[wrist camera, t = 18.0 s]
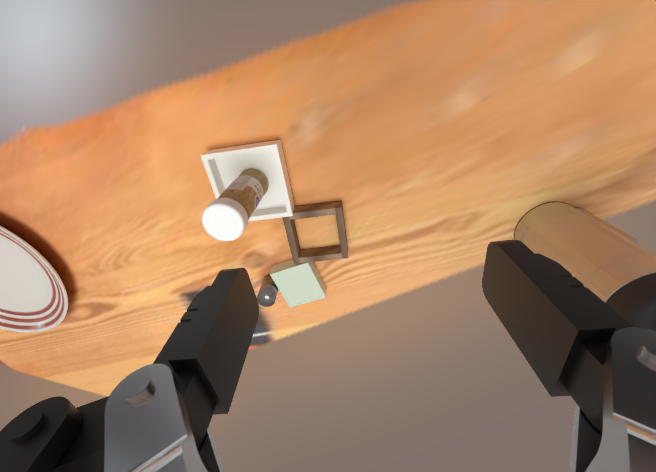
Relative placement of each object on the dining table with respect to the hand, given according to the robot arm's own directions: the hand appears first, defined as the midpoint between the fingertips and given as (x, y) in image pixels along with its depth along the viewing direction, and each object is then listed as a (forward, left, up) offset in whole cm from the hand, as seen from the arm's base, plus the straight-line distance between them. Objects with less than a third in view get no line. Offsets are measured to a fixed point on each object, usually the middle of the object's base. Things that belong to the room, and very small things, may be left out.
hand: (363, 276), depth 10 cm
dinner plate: (+65, +16, -34) cm, 75 cm away
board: (+11, +25, -34) cm, 43 cm away
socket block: (+6, +15, -33) cm, 37 cm away
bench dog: (+16, +25, -33) cm, 44 cm away
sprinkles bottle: (+14, +6, -32) cm, 36 cm away
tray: (+14, +6, -33) cm, 36 cm away
